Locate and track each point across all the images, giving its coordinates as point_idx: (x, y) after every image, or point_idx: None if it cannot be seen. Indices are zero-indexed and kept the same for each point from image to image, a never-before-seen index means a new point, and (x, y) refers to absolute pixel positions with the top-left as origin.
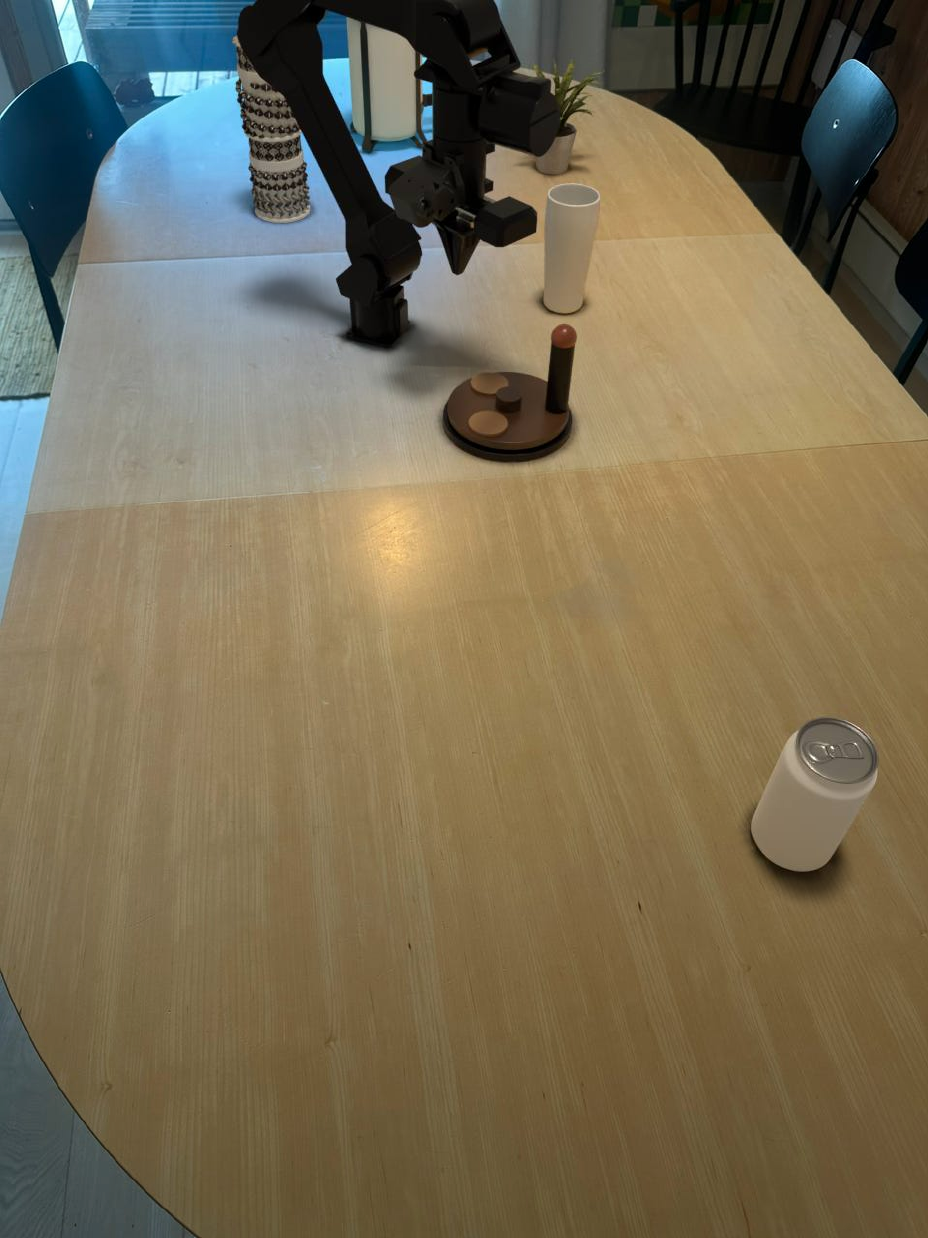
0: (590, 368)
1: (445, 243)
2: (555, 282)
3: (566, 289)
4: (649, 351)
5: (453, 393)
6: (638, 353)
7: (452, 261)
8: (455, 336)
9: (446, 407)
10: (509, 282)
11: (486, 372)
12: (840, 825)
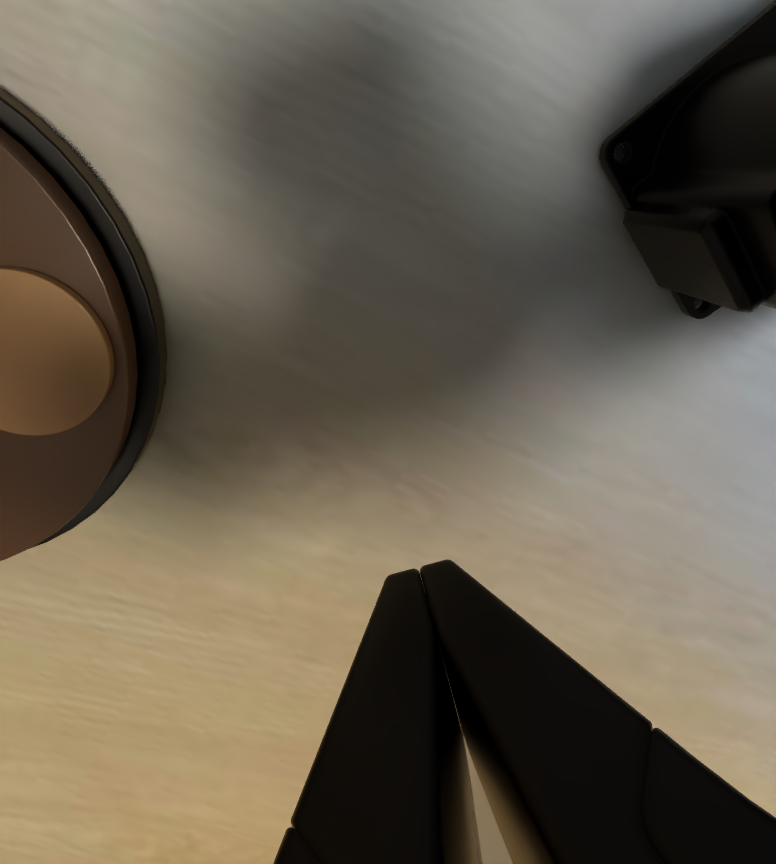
0: (147, 698)
1: (606, 790)
2: (490, 827)
3: None
4: (169, 841)
5: (7, 163)
6: (171, 819)
7: (443, 640)
8: (523, 429)
9: (3, 111)
10: (677, 695)
11: (103, 383)
12: None
